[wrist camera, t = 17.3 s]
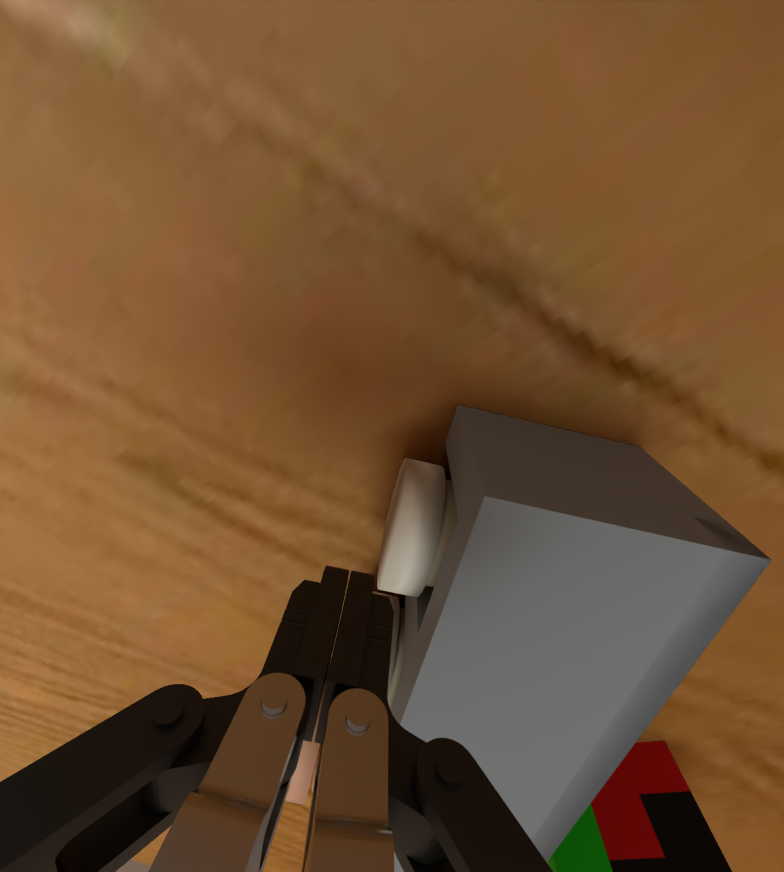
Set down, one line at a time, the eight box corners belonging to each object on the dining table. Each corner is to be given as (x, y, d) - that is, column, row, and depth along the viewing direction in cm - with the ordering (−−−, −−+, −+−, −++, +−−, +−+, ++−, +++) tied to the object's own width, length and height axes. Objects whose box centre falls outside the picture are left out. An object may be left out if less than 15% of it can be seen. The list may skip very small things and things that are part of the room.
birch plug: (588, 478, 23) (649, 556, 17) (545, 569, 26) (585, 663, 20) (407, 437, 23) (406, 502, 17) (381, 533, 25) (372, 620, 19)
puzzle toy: (658, 814, 36) (742, 1008, 27) (536, 821, 37) (577, 1009, 28) (663, 739, 32) (765, 935, 23) (528, 749, 33) (573, 940, 24)
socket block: (639, 446, 23) (771, 559, 14) (475, 766, 34) (495, 931, 26) (457, 404, 22) (484, 496, 14) (352, 743, 34) (333, 903, 25)
